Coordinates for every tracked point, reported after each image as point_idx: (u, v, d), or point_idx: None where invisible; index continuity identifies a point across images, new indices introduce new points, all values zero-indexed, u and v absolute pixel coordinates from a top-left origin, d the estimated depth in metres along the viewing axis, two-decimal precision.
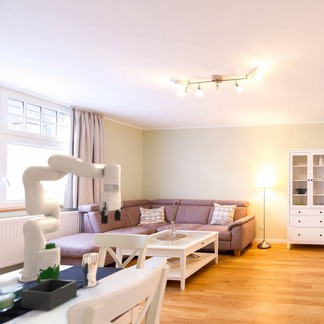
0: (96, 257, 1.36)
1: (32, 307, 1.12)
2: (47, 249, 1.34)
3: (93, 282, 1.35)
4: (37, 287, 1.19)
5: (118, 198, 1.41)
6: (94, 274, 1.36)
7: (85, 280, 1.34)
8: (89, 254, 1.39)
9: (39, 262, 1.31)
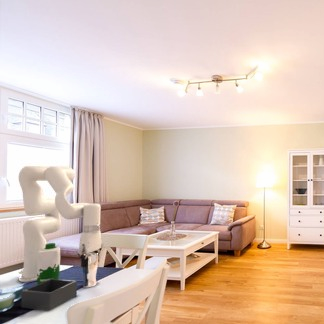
0: (96, 257, 1.36)
1: (32, 307, 1.12)
2: (47, 249, 1.34)
3: (93, 282, 1.35)
4: (37, 287, 1.19)
5: (98, 238, 1.39)
6: (94, 274, 1.36)
7: (85, 280, 1.34)
8: (89, 254, 1.39)
9: (39, 262, 1.31)
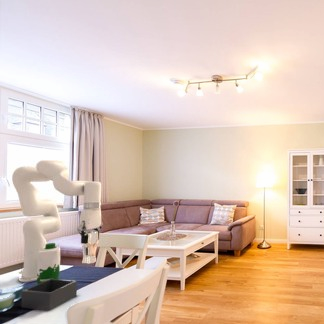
0: (96, 234, 1.37)
1: (32, 307, 1.12)
2: (47, 249, 1.34)
3: (93, 259, 1.36)
4: (37, 287, 1.19)
5: (98, 216, 1.39)
6: (94, 251, 1.36)
7: (85, 257, 1.34)
8: (89, 231, 1.40)
9: (39, 262, 1.31)
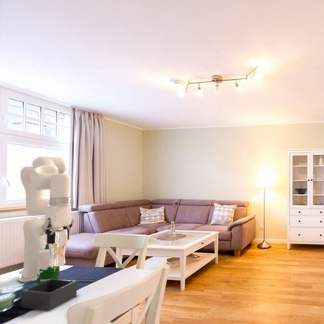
0: (65, 233, 1.21)
1: (32, 307, 1.12)
2: (47, 249, 1.34)
3: (61, 261, 1.20)
4: (37, 287, 1.19)
5: (67, 212, 1.24)
6: (62, 252, 1.21)
7: (52, 259, 1.19)
8: (58, 230, 1.24)
9: (39, 262, 1.31)
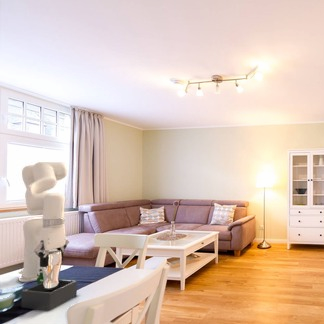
0: (58, 255, 1.19)
1: (32, 307, 1.12)
2: None
3: (54, 284, 1.17)
4: (37, 287, 1.19)
5: (61, 234, 1.21)
6: (56, 275, 1.18)
7: (45, 282, 1.16)
8: (51, 252, 1.21)
9: (39, 262, 1.31)
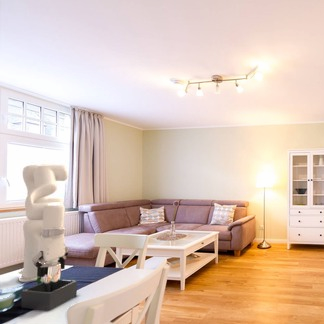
0: (58, 267, 1.18)
1: (32, 307, 1.12)
2: None
3: None
4: (37, 287, 1.19)
5: (61, 244, 1.21)
6: (55, 287, 1.18)
7: None
8: (51, 264, 1.21)
9: None
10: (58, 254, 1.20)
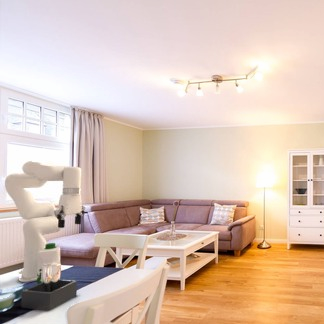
0: (58, 267, 1.18)
1: (32, 307, 1.12)
2: (47, 249, 1.34)
3: None
4: (37, 287, 1.19)
5: (78, 201, 1.38)
6: (55, 287, 1.18)
7: None
8: (51, 264, 1.21)
9: (39, 262, 1.31)
10: (76, 210, 1.37)
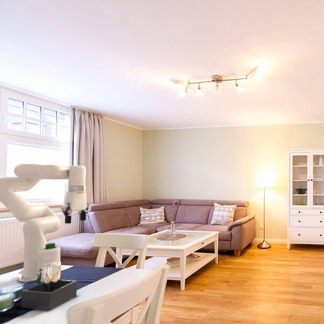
0: (58, 267, 1.18)
1: (32, 307, 1.12)
2: (47, 249, 1.34)
3: None
4: (37, 287, 1.19)
5: (83, 198, 1.45)
6: (55, 287, 1.18)
7: None
8: (51, 264, 1.21)
9: (39, 262, 1.31)
10: (81, 207, 1.44)
